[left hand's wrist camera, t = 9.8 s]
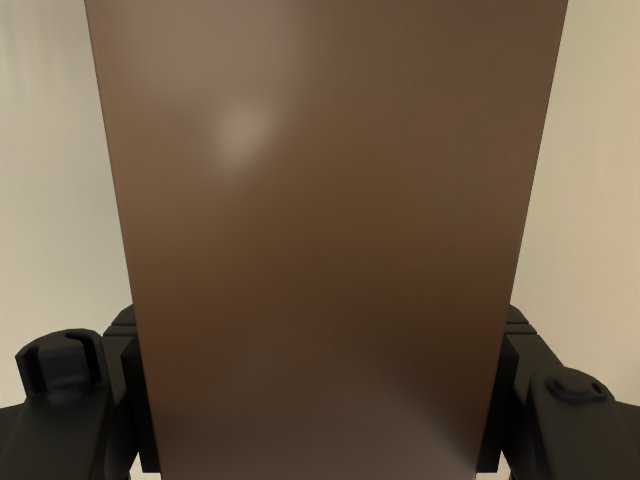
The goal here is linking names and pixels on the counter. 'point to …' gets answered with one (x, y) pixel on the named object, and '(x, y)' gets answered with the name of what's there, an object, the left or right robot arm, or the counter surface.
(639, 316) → the counter surface
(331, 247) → the bar
